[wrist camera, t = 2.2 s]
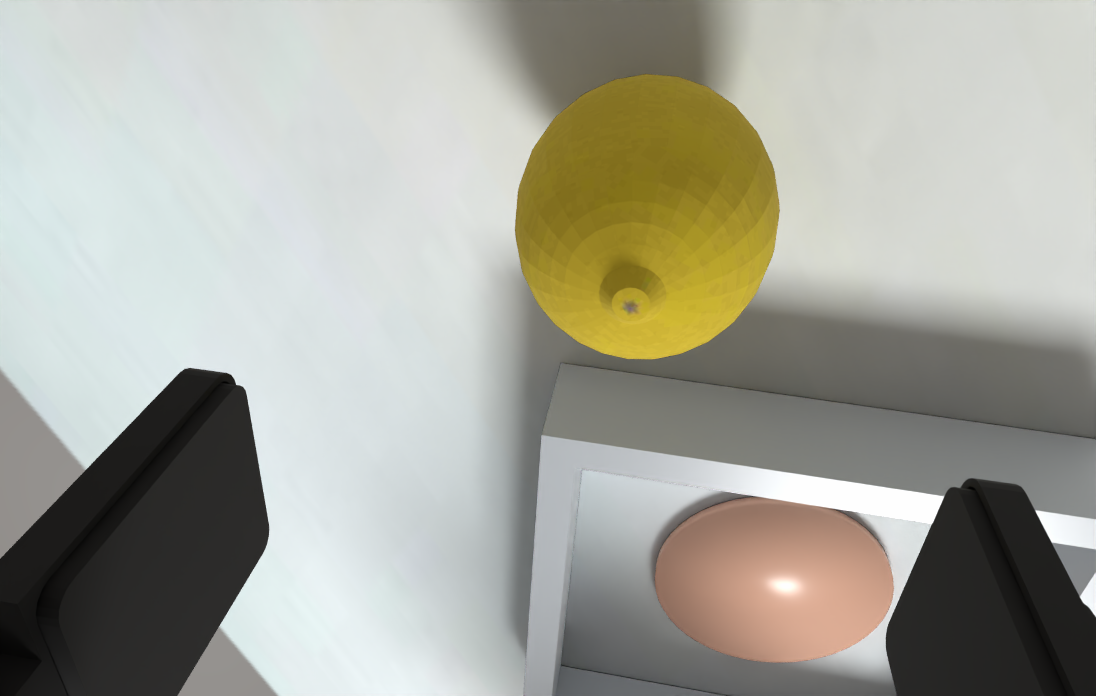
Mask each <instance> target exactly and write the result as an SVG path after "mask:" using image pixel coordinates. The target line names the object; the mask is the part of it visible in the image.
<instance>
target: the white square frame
mask: <svg viewBox="0 0 1096 696" xmlns="http://www.w3.org/2000/svg"><path fill="white" fill-rule="evenodd" d="M582 469H583V470H590V471H596V472H602V473H609V474H615V475H622V476H628V477H635V478H641V479H647V480H654V481H660V482H667V483H673V484H680V485H686V486H692V487H699V488H705V489H712V490H718V491H724V492H731V493H737V494H744V495H750V496H757V497H749V498H742V499H737V500H731V501H727V502H724V503H720V504H717V505H714V506H712V507H709V508H707V509H704V510H702V511H700V512H698V513H697V514H695V515H693V516H691V517H690V518H688V519H687V520H685V521H684V522H683V523H681V524H680V525H679V526H678V527H677V528H676V529H675V530H674V531H673V532H672V533H671V534H670V535H669V537H668V538H667V539H666V541H665V542H664V544H663V546H662V548H661V550H660V552H659V555H658V558H657V562H656V572H655V587H656V593H657V596H658V600H659V602H660V604H661V606H662V608H663V610H664V611H665V613H666V614H667V616H668V617H669V619H670V620H671V621H672V622H673V623H674V624H675V625H676V626H677V627H678V628H679V629H680V630H682V631H683V632H684V633H685V634H686V635H688V636H689V637H691V638H692V639H694V640H695V641H697V642H699V643H701V644H703V645H704V646H706V647H708V648H711V649H713V650H716V651H718V652H720V653H724V654H727V655H730V656H733V657H737V658H742V659H746V660H753V661H760V662H775V663H780V662H798V661H807V660H812V659H817V658H821V657H825V656H828V655H831V654H834V653H837V652H839V651H842V650H844V649H847V648H848V647H850V646H852V645H854V644H856V643H858V642H859V641H861V640H862V639H863V638H865V637H866V636H868V635H869V634H870V633H871V632H872V631H873V630H874V629H875V628H876V627H877V626H878V625H879V624H880V623H881V621H882V620H883V619H884V617H885V615H886V614H887V612H888V610H889V607H890V605H891V602H892V598H893V590H894V586H893V576H892V572H891V568H890V564H889V561H888V558H887V556H886V554H885V552H884V550H883V548H882V546H881V545H880V544H879V542H878V541H877V540H876V538H875V537H874V536H873V535H872V534H871V533H870V532H869V531H868V530H867V529H866V528H865V527H863V526H862V525H861V524H859V523H858V522H857V521H855V520H854V519H852V518H850V517H849V516H847V515H845V514H843V513H841V512H839V511H837V510H834V509H840V510H846V511H853V512H859V513H866V514H872V515H879V516H885V517H891V518H898V519H904V520H911V521H917V522H923V523H930V524H932V523H933V521H934V519H935V516H936V514H937V512H938V509H939V507H940V505H941V503H942V500H943V498H944V496H945V494H946V492H947V490H948V489H950V488H951V487H958V488H961V486H962V484H963V483H964V482H965V481H966V480H967V479H969V478H976V479H983V480H990V481H997V482H1005V483H1012V484H1017V485H1019V486H1021V487H1022V488H1023V489H1024V491H1025V492H1026V494H1027V496H1028V498H1029V500H1030V501H1031V503H1032V505H1033V507H1034V509H1035V511H1036V513H1037V515H1038V517H1039V519H1040V521H1041V523H1042V525H1043V527H1044V529H1045V530H1046V532H1047V534H1048V536H1049V538H1050V540H1051V542H1052V544H1053V546H1054V548H1055V550H1056V552H1057V554H1058V556H1059V558H1060V559H1061V561H1062V563H1063V565H1064V567H1065V569H1066V571H1067V573H1068V575H1069V577H1070V579H1071V581H1072V583H1073V585H1074V586H1075V588H1076V590H1077V592H1078V594H1079V596H1080V598H1081V600H1082V602H1083V603H1084V604H1085V605H1087V606H1088V607H1089V608H1090V609H1091V611H1092V612H1093V614H1094V615H1095V617H1096V439H1091V438H1084V437H1077V436H1070V435H1063V434H1056V433H1049V432H1042V431H1035V430H1028V429H1021V428H1014V427H1007V426H1000V425H993V424H986V423H979V422H972V421H965V420H958V419H951V418H944V417H937V416H930V415H922V414H915V413H908V412H901V411H894V410H887V409H880V408H873V407H866V406H859V405H852V404H845V403H838V402H831V401H824V400H817V399H810V398H803V397H796V396H789V395H782V394H775V393H768V392H761V391H754V390H747V389H740V388H733V387H726V386H719V385H712V384H705V383H698V382H691V381H684V380H677V379H670V378H663V377H656V376H648V375H641V374H634V373H627V372H620V371H613V370H606V369H599V368H592V367H585V366H578V365H571V364H564V363H561V364H560V368H559V372H558V376H557V379H556V383H555V387H554V390H553V394H552V398H551V402H550V405H549V409H548V413H547V417H546V420H545V424H544V428H543V431H542V435H541V450H540V464H539V479H538V493H537V508H536V522H535V537H534V551H533V566H532V580H531V595H530V609H529V624H528V638H527V653H526V667H525V682H524V696H724V695H719V694H713V693H708V692H702V691H697V690H691V689H686V688H680V687H675V686H669V685H664V684H658V683H653V682H647V681H642V680H636V679H631V678H625V677H620V676H614V675H609V674H603V673H598V672H592V671H587V670H581V669H576V668H570V667H565V666H561V658H562V649H563V640H564V631H565V621H566V612H567V603H568V594H569V585H570V575H571V566H572V557H573V548H574V539H575V530H576V520H577V511H578V502H579V493H580V484H581V474H582ZM832 508H834V509H832Z"/></svg>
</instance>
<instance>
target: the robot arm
mask: <svg viewBox="0 0 1096 696" xmlns="http://www.w3.org/2000/svg"><path fill="white" fill-rule="evenodd" d="M268 537H269V523H268V517H267V511H266V505H265V499H264V493H263V488H262V482H261V476H260V470H259V464H258V458H257V452H256V447H255V441H254V435H253V429H252V423H251V417H250V412H249V406H248V400H247V395H246V391H245V389H244V388H243V387H242V386H239V385H236V383H235V380H234V378H233V377H232V376H231V375H230V374H228V373H222V372H215V371H208V370H201V369H194V368H188V369H184V370H183V371H182V372H180V373H179V374H178V375H177V376H176V377H175V378H174V379H173V380H172V381H171V382H170V383H169V384H168V385H167V387H166V388H165V389H164V390H163V391H162V392H161V393H160V394H159V395H158V396H157V397H156V398H155V399H154V400H153V401H152V402H151V403H150V404H149V405H148V406H147V407H146V408H145V409H144V410H143V411H142V412H141V413H140V415H139V416H138V417H137V418H136V419H135V420H134V421H133V422H132V423H131V424H130V425H129V426H128V427H127V428H126V429H125V430H124V431H123V432H122V433H121V434H120V435H119V436H118V437H117V438H116V439H115V440H114V441H113V443H112V444H111V445H110V446H109V447H108V448H107V449H106V450H105V451H104V452H103V453H102V454H101V455H100V456H99V457H98V458H97V459H96V460H95V461H94V462H93V463H92V464H91V465H90V466H89V467H88V468H87V469H86V470H85V472H84V473H83V474H82V475H81V476H80V477H79V478H78V479H77V480H76V481H75V482H74V483H73V484H72V485H71V486H70V487H69V488H68V489H67V490H66V491H65V492H64V493H63V494H62V496H60V497H59V499H58V500H57V501H56V502H55V503H54V504H53V505H52V506H51V507H50V508H49V509H48V510H47V511H46V512H45V513H44V514H43V515H42V516H41V517H40V518H39V519H38V520H37V521H36V522H35V523H34V524H33V526H31V528H30V529H29V530H28V531H27V532H26V533H25V534H24V535H23V536H22V537H21V538H20V539H19V540H18V541H17V542H16V543H15V544H14V545H13V546H12V547H11V548H10V549H9V550H8V551H7V552H6V553H5V555H4V556H3V557H2V558H1V559H0V696H177V695H178V694H179V692H180V690H181V689H182V687H183V685H184V683H185V682H186V680H187V678H188V677H189V675H190V674H191V672H192V670H193V669H194V667H195V665H196V664H197V662H198V660H199V659H200V657H201V655H202V654H203V652H204V651H205V649H206V647H207V646H208V644H209V642H210V641H211V639H212V637H213V636H214V634H215V632H216V630H217V629H218V627H219V626H220V624H221V622H222V621H223V619H224V617H225V616H226V614H227V612H228V611H229V609H230V607H231V606H232V604H233V602H234V601H235V599H236V597H237V596H238V594H239V592H240V591H241V589H242V587H243V586H244V584H245V582H246V581H247V579H248V577H249V576H250V574H251V572H252V571H253V569H254V567H255V566H256V564H257V562H258V561H259V559H260V557H261V556H262V554H263V552H264V550H265V548H266V545H267V542H268ZM886 651H887V656H888V661H889V665H890V669H891V673H892V677H893V681H894V685H895V689H896V693H897V696H1096V617H1095V615H1094V614H1093V612H1092V611H1091V609H1090V608H1089V607H1088V606H1087V605H1085V604H1084V603H1083V602H1082V600H1081V598H1080V596H1079V594H1078V592H1077V590H1076V588H1075V586H1074V585H1073V583H1072V581H1071V579H1070V577H1069V575H1068V573H1067V571H1066V569H1065V567H1064V565H1063V563H1062V561H1061V559H1060V558H1059V556H1058V554H1057V552H1056V550H1055V548H1054V546H1053V544H1052V542H1051V540H1050V538H1049V536H1048V534H1047V532H1046V530H1045V529H1044V527H1043V525H1042V523H1041V521H1040V519H1039V517H1038V515H1037V513H1036V511H1035V509H1034V507H1033V505H1032V503H1031V501H1030V500H1029V498H1028V496H1027V494H1026V492H1025V491H1024V489H1023V488H1022V487H1021V486H1019V485H1017V484H1012V483H1005V482H997V481H990V480H983V479H976V478H969V479H967V480H966V481H965V482H964V483H963V484H962V486H961V488H958V487H951V488H950V489H948V490H947V492H946V494H945V496H944V498H943V500H942V503H941V505H940V507H939V509H938V512H937V514H936V516H935V519H934V521H933V523H932V526H931V528H930V530H929V532H928V535H927V537H926V539H925V542H924V544H923V546H922V548H921V551H920V553H919V555H918V558H917V560H916V562H915V564H914V567H913V569H912V571H911V574H910V576H909V578H908V580H907V583H906V585H905V587H904V590H903V592H902V594H901V596H900V599H899V601H898V603H897V606H896V608H895V610H894V612H893V615H892V617H891V619H890V622H889V624H888V627H887V633H886Z"/></svg>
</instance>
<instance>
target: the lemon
mask: <svg viewBox="0 0 1096 696" xmlns="http://www.w3.org/2000/svg"><path fill="white" fill-rule="evenodd" d="M779 212H780V210H779V199H778V192H777V185H776V179H775V172H774V168H773V165H772V163H771V161H770V158H769V156H768V154H767V152H766V150H765V148H764V145H763V143H762V141H761V139H760V137H759V135H758V133H757V131H756V130H755V129H754V128H753V127H752V125H751V124H750V123H749V122H748V121H747V119H746V118H745V117H744V116H743V115H742V113H741V112H740V111H739V110H738V109H737V107H736V106H735V105H733V104H732V103H731V102H729V101H728V100H726V99H725V98H723V97H722V96H720V95H719V94H717V93H716V92H714V91H713V90H711V89H710V88H708V87H706V86H703V85H700V84H697V83H695V82H692V81H689V80H686V79H683V78H680V77H676V76H664V75H651V74H643V75H638V76H632V77H626V78H621V79H615V80H613V81H610V82H608V83H606V84H604V85H602V86H600V87H598V88H595V89H593V90H591V91H589V92H587V93H585V94H583V95H582V96H580V97H579V98H578V99H577V100H576V101H574V102H573V103H572V104H571V105H569V106H568V107H567V108H566V109H565V110H563V111H562V112H561V113H560V114H559V115H557V116H556V117H555V118H554V120H553V121H552V122H551V124H550V125H549V127H548V128H547V129H546V131H545V132H544V134H543V135H542V136H541V138H540V139H539V141H538V142H537V144H536V145H535V147H534V148H533V150H532V152H531V155H530V158H529V160H528V163H527V166H526V169H525V171H524V174H523V177H522V180H521V183H520V185H519V190H518V198H517V210H516V222H515V235H516V242H517V247H518V252H519V258H520V263H521V268H522V272H523V275H524V277H525V279H526V281H527V283H528V285H529V287H530V289H531V291H532V293H533V295H534V297H535V299H536V301H537V303H538V304H539V306H540V307H541V308H542V309H543V311H544V312H545V313H546V314H547V315H548V317H549V318H550V319H551V320H552V321H553V323H554V324H555V325H556V326H558V327H559V328H560V329H562V330H563V331H564V332H566V333H567V334H568V335H570V336H571V337H572V338H574V339H575V340H576V341H578V342H579V343H581V344H583V345H585V346H588V347H590V348H592V349H594V350H596V351H599V352H601V353H604V354H608V355H613V356H617V357H621V358H626V359H657V358H662V357H667V356H672V355H677V354H681V353H684V352H686V351H688V350H691V349H693V348H695V347H697V346H700V345H702V344H704V343H707V342H708V341H710V340H711V339H712V338H714V337H715V336H716V335H718V334H719V333H720V332H722V331H723V330H724V329H726V328H727V327H728V326H730V325H731V324H732V323H733V322H734V321H735V320H736V319H737V317H738V316H739V315H740V314H741V312H742V311H743V310H744V309H745V307H746V306H747V305H748V304H749V302H750V301H751V300H752V299H753V297H754V296H755V294H756V292H757V290H758V288H759V286H760V283H761V281H762V279H763V277H764V274H765V272H766V270H767V267H768V265H769V263H770V261H771V258H772V255H773V252H774V248H775V240H776V233H777V226H778V219H779Z"/></svg>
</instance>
